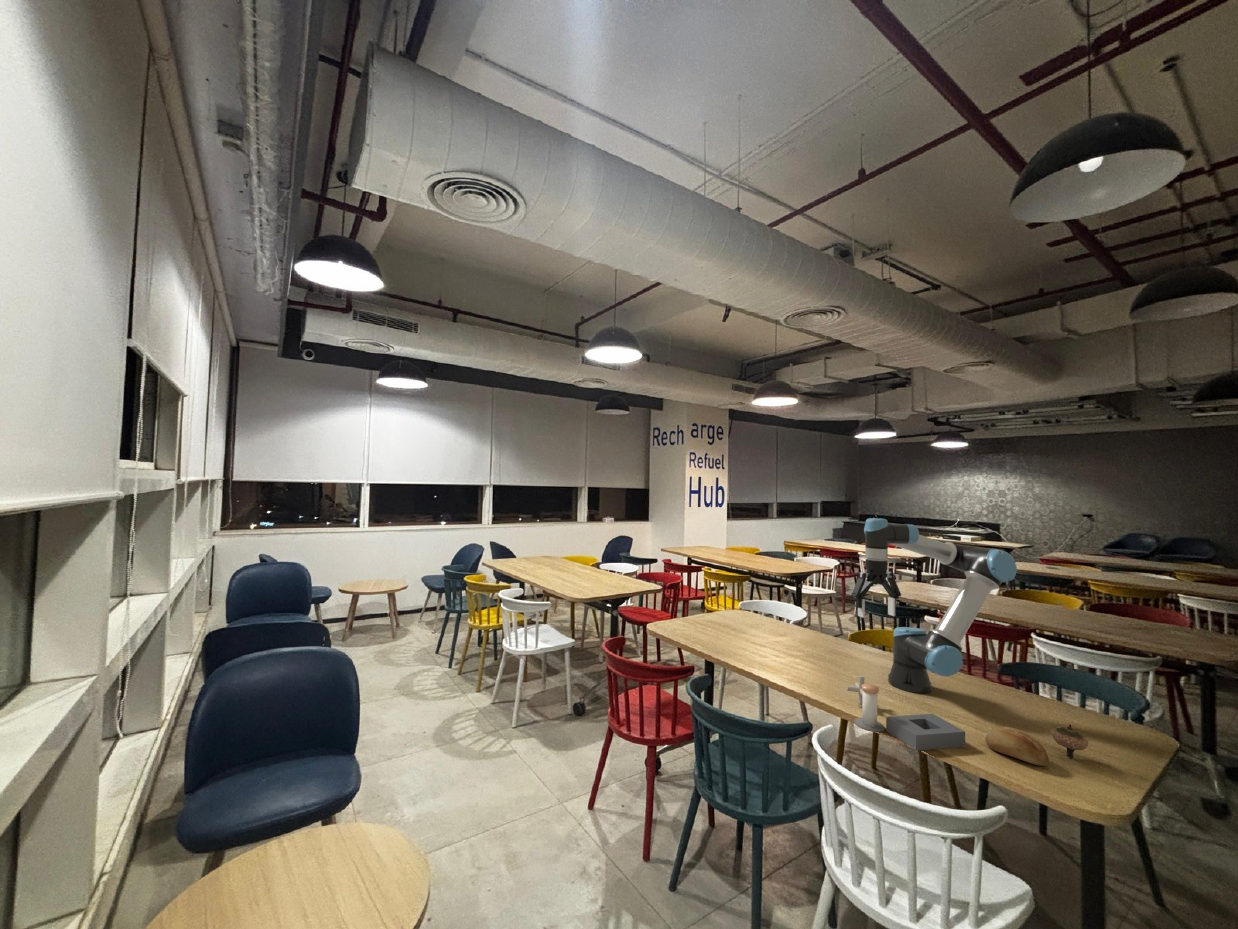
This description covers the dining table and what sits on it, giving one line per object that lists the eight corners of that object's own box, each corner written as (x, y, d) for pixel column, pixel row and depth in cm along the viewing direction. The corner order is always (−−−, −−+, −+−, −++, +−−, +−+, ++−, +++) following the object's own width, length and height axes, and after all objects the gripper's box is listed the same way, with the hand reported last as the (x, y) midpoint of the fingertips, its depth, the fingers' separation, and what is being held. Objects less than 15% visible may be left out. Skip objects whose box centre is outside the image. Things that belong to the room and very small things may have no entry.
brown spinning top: (1047, 755, 147) (1047, 721, 147) (1055, 747, 151) (1055, 715, 152) (1084, 768, 140) (1084, 733, 140) (1091, 760, 145) (1091, 726, 145)
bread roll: (1044, 775, 136) (1044, 745, 136) (980, 750, 148) (980, 724, 148) (1052, 764, 142) (1052, 736, 142) (989, 741, 154) (990, 716, 154)
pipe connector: (880, 712, 172) (880, 683, 172) (850, 708, 174) (850, 679, 174) (871, 700, 181) (872, 673, 182) (843, 696, 183) (843, 669, 184)
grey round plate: (871, 718, 166) (871, 717, 166) (891, 731, 157) (891, 730, 157) (848, 719, 164) (848, 718, 164) (867, 733, 156) (867, 731, 156)
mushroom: (870, 720, 164) (871, 683, 164) (881, 727, 159) (882, 689, 160) (857, 721, 163) (858, 684, 163) (868, 728, 158) (868, 690, 159)
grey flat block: (932, 727, 161) (932, 713, 162) (965, 746, 150) (965, 731, 150) (886, 730, 158) (886, 716, 158) (915, 750, 146) (916, 735, 146)
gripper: (895, 557, 190) (896, 612, 189) (841, 558, 184) (841, 614, 183) (911, 560, 183) (912, 617, 182) (855, 561, 177) (855, 620, 176)
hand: (876, 616), depth 183 cm, fingers open, 13 cm apart
